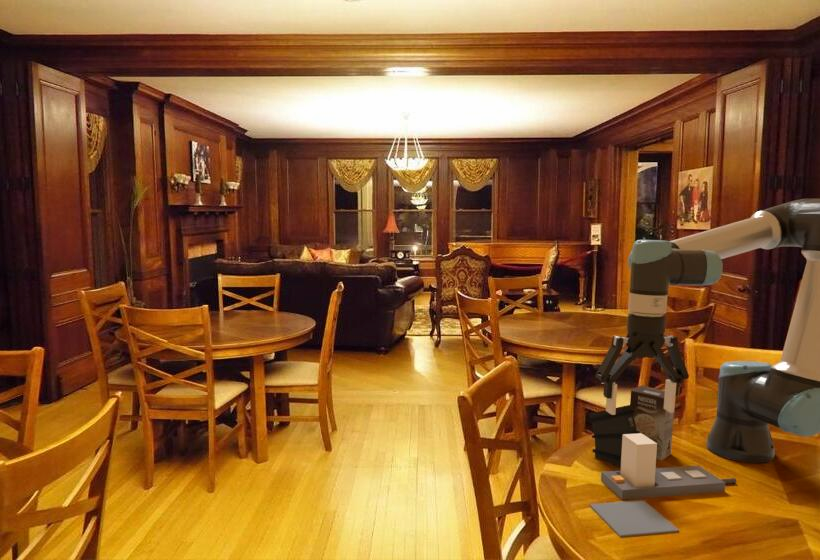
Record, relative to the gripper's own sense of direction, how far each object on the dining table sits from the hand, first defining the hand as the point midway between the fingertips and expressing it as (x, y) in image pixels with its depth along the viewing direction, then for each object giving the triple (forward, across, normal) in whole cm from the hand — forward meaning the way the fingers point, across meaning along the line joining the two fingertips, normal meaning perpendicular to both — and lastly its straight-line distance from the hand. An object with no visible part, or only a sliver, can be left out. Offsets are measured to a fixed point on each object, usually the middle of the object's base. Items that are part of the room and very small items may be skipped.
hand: (639, 411), depth 130 cm
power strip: (+17, +9, 0) cm, 20 cm away
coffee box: (+18, +14, +18) cm, 29 cm away
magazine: (+18, +2, +14) cm, 23 cm away
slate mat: (+18, -8, -12) cm, 23 cm away
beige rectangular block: (+17, 0, 0) cm, 17 cm away
